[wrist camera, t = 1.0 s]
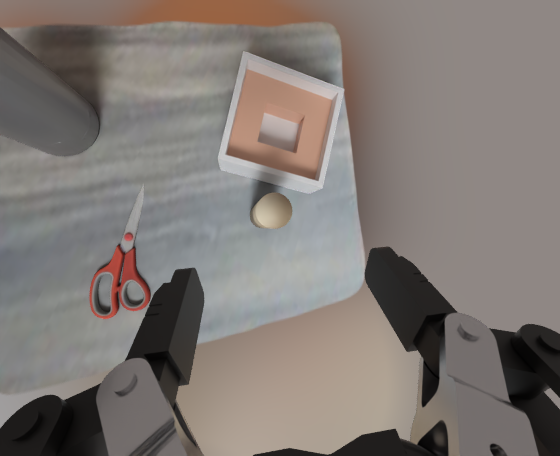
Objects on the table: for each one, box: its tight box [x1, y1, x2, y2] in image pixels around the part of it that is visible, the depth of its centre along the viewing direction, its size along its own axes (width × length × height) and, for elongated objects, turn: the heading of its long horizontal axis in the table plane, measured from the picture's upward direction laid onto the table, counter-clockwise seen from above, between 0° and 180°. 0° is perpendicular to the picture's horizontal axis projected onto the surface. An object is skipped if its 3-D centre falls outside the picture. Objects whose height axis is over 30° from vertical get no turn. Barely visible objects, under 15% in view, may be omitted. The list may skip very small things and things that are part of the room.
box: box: [218, 51, 344, 194], centre depth 34 cm, size 15×15×6 cm
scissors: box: [90, 183, 150, 319], centre depth 32 cm, size 8×21×2 cm, turn 179°
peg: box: [250, 193, 292, 229], centre depth 31 cm, size 4×4×12 cm
